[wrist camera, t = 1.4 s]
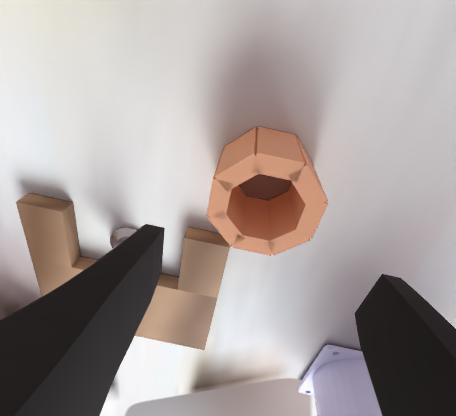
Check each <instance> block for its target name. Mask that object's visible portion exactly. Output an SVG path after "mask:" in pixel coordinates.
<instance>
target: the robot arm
mask: <svg viewBox="0 0 456 416" xmlns="http://www.w3.org/2000/svg"><path fill="white" fill-rule="evenodd" d="M163 241H164V228H162V227H157V226H153V225H148V224H145V225H144V226H142V227H141V228H140V229H138V230H137V231H136V232H134V233H133V234H132V235H131V236H129V237H128V238H127V239H126V240H124V241H123V242H122V243H120V244H119V245H118V246H117V247H115V248H114V249H113V250H111V251H110V252H109V253H107V254H106V255H104V256H103V257H102V258H100V259H99V260H98V261H96V262H95V263H93V264H92V265H91V266H89V267H88V268H86V269H85V270H83V271H82V272H80V273H79V274H77V275H76V276H74V277H73V278H71V279H70V280H68V281H67V282H65V283H64V284H62V285H61V286H59V287H57V288H56V289H54V290H52V291H51V292H49V293H48V294H46V295H44V296H43V297H41V298H39V299H38V300H36V301H34V302H32V303H31V304H29V305H27V306H25V307H24V308H22V309H20V310H18V311H17V312H15V313H13V314H11V315H9V316H7V317H5V318H3V319H2V320H0V416H99V415H100V413H101V410H102V407H103V405H104V402H105V400H106V397H107V394H108V392H109V389H110V387H111V384H112V382H113V380H114V377H115V375H116V373H117V371H118V368H119V366H120V364H121V362H122V360H123V358H124V356H125V354H126V352H127V350H128V348H129V346H130V344H131V342H132V340H133V338H134V336H135V334H136V331H137V329H138V327H139V325H140V323H141V321H142V319H143V317H144V315H145V313H146V311H147V309H148V307H149V305H150V302H151V300H152V297H153V295H154V292H155V289H156V286H157V283H158V281H159V278H160V275H161V269H162V255H163ZM355 318H356V324H357V331H358V336H359V341H360V346H361V349H362V351H358V350H353V349H348V348H343V347H339V346H334V345H326V346H324V347H323V349H322V350H321V352H320V353H319V355H318V356H317V358H316V359H315V361H314V362H313V364H312V365H311V367H310V368H309V370H308V371H307V373H306V374H305V376H304V378H303V379H302V381H301V382H300V384H299V385H298V391H299V392H300V393H303V394H308V395H313V396H315V403H316V409H317V416H456V329H455V328H454V327H453V326H452V325H451V324H450V323H449V322H448V321H447V320H446V319H445V318H444V317H443V316H442V315H441V314H439V313H438V312H437V311H436V310H435V309H434V308H433V307H432V306H431V305H430V304H429V303H428V302H427V301H426V300H425V299H424V298H423V297H421V296H420V295H419V294H418V293H417V292H416V291H415V290H414V289H413V288H412V287H411V286H409V285H408V284H407V283H406V282H405V281H403V280H402V279H401V278H398V277H393V276H389V275H384V274H382V275H381V276H380V278H379V279H378V281H377V282H376V284H375V285H374V286H373V288H372V289H371V291H370V292H369V294H368V295H367V297H366V298H365V299H364V301H363V302H362V304H361V305H360V307H359V308H358V310H357V311H356V312H355Z"/></svg>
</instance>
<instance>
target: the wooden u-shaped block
mask: <svg viewBox="0 0 456 416" xmlns="http://www.w3.org/2000/svg"><path fill="white" fill-rule="evenodd" d="M16 204H17V208H18V211H19V215H20V219H21V222H22V226H23V230H24V233H25V237H26V240H27V244H28V248H29V251H30V255H31V259H32V262H33V266H34V270H35V273H36V277H37V281H38V284H39V288H40V292H41V295H42V297H43V296H44V295H46V294H48V293H49V292H51V291H52V290H54V289H56V288H57V287H59V286H61V285H62V284H64V283H65V282H67V281H68V280H70V279H71V278H73V277H74V276H76V275H77V274H79V273H80V272H82V271H83V270H85V269H86V268H88V267H89V266H91V265H92V264H93V263H95V262H96V261H98V260H95V259H90V258H86V257H81V256H80V249H79V242H78V235H77V227H76V220H75V213H74V206H73V202H68V201H64V200H59V199H54V198H50V197H45V196H40V195H36V194H31V193H29V194H27V195H26V196H24V197H23V198H21V199H20V200H18V201H17V202H16ZM229 248H230V245H229V244H228V242H227V241H226V240H225V239H224V238H223V236H222V235H221V234H218V233H214V232H209V231H204V230H200V229H195V228H190V227H188V229H187V232H186V234H185V237H184V242H183V250H182V258H181V266H180V274H179V277H175V276H171V275H166V274H161V275H160V278H159V281H158V283H157V286H156V289H155V292H154V295H153V297H152V300H151V302H150V305H149V307H148V309H147V311H146V313H145V315H144V317H143V319H142V321H141V323H140V325H139V327H138V329H137V331H136V334H135V336H140V337H144V338H149V339H154V340H159V341H163V342H168V343H173V344H178V345H183V346H187V347H192V348H197V349H202V350H204V349H205V345H206V341H207V337H208V333H209V329H210V325H211V321H212V317H213V313H214V309H215V305H216V301H217V296H218V292H219V288H220V284H221V280H222V276H223V272H224V268H225V264H226V260H227V256H228V252H229Z"/></svg>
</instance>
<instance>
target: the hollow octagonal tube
mask: <svg viewBox="0 0 456 416" xmlns="http://www.w3.org/2000/svg"><path fill="white" fill-rule="evenodd" d="M257 174H263V175H267V176H272V177H277V178H281V179H286V180H291V182H292V183H291V185H290V188H289V190H288V191H286V192H284V193H283V194H281V195H279V196H277V197H275V198H273V199H271V200H269V201H267V200H262V199H258V198H253V197H248V196H246V195H245V194H244V192H243V191H242V190H241V188H240V187H239V185H240V184H241V183H243V182H245V181H247V180H248V179H250V178H252V177H254V176H256V175H257ZM327 201H328V200H327V198H326V195H325V193H324V190H323V188H322V186H321V183H320V181H319V178H318V176H317V173H316V171H315V169H314V166H313V164H312V162H311V161H310V159H309V157H308V155H307V154H306V152H305V150H304V148H303V146H302V145H301V143H300V141H299V139H298V137H297V136H296V137H295V134H291V133H286V132H281V131H277V130H272V129H268V128H263V127H258V129H256V127H255V128H253V129H251V130H250V131H248V132H247V133H245V134H244V135H242V136H240V137H239V138H237V139H236V140H234V141H233V142H231V143H230V144H228V145H226V146H225V148H224V149H223V152H222V155H221V157H220V160H219V163H218V166H217V169H216V172H215V175H214V178H213V182H212V188H211V194H210V199H209V205H208V211H207V216H208V219H209V221H210V222H211V223H212V224H213V225H214V227H215V228H216V229H217V230H218V232H219V233H220V234H221V235H222V236H223V238H224V239H225V240H226V241H227V242H228V244H229V245H230V246H232V245H233V248H237V249H242V250H247V251H251V252H256V253H261V254H266V255H270V256H271V254H273V255H276V254H278V253H281V252H283V251H285V250H288V249H290V248H292V247H295V246H297V245H300V244H302V243H304V242H307V241H309V240H310V238H313V235H314V233H315V231H316V229H317V226H318V224H319V222H320V220H321V218H322V215H323V213H324V211H325V209H326V206H327V204H328V203H327Z"/></svg>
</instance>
